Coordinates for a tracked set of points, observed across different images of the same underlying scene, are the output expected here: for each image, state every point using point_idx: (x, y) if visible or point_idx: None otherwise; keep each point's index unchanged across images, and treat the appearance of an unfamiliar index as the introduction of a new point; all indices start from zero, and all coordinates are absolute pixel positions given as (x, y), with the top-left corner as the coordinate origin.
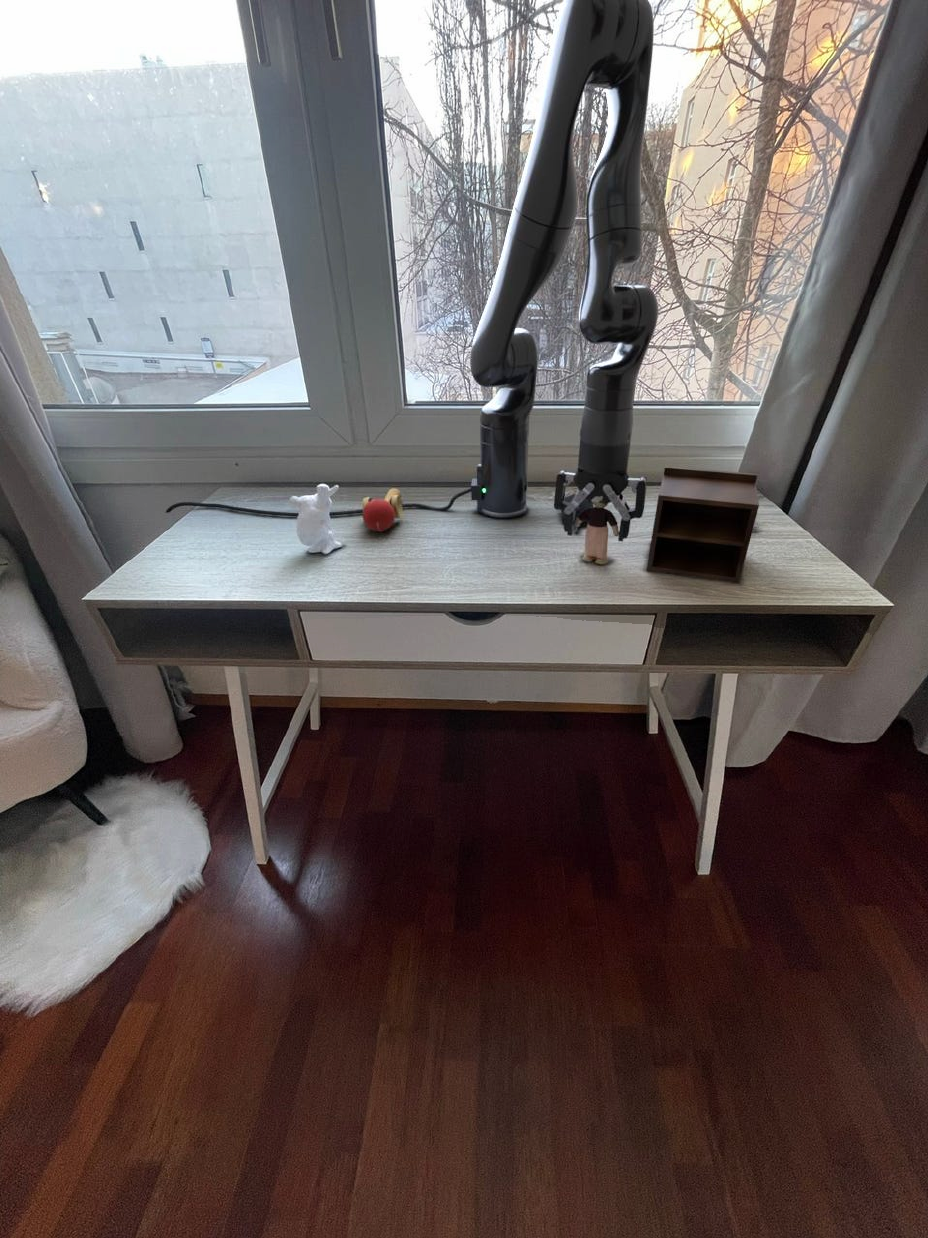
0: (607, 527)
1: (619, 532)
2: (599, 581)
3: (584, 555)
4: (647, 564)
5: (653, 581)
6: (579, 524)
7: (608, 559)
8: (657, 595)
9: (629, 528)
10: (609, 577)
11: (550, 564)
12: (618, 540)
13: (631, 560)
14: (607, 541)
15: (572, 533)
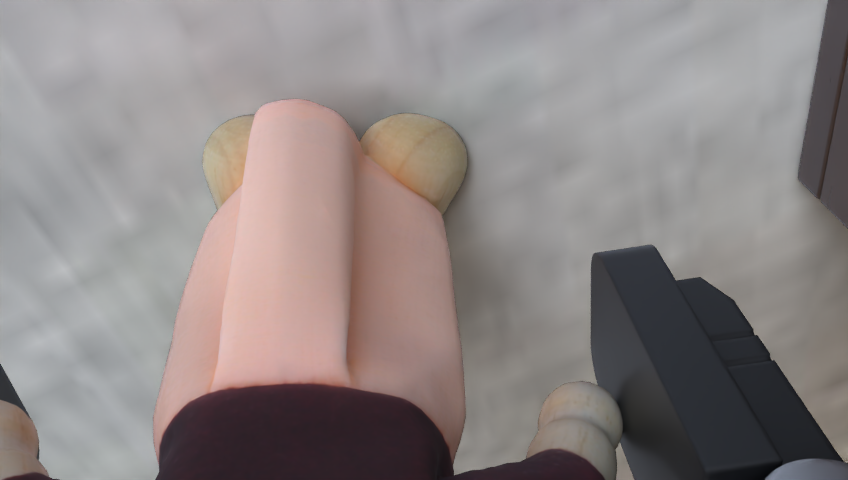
0: (458, 444)
1: (629, 460)
2: (471, 450)
3: (216, 201)
4: (826, 205)
5: (836, 308)
6: (36, 454)
7: (457, 182)
8: (843, 442)
9: (760, 345)
10: (523, 382)
11: (31, 399)
12: (597, 375)
13: (660, 38)
14: (456, 321)
15: (14, 400)
